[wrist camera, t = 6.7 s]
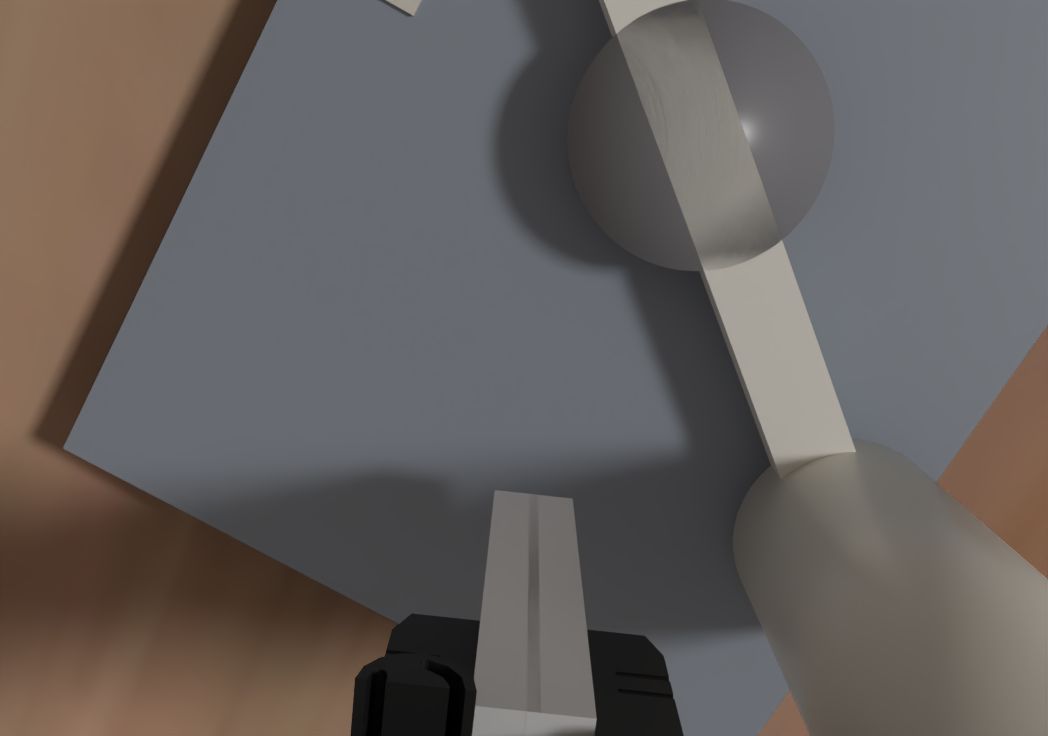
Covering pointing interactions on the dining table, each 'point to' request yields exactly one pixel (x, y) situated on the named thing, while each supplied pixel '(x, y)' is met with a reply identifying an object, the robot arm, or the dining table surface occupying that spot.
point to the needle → (802, 387)
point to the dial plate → (558, 310)
